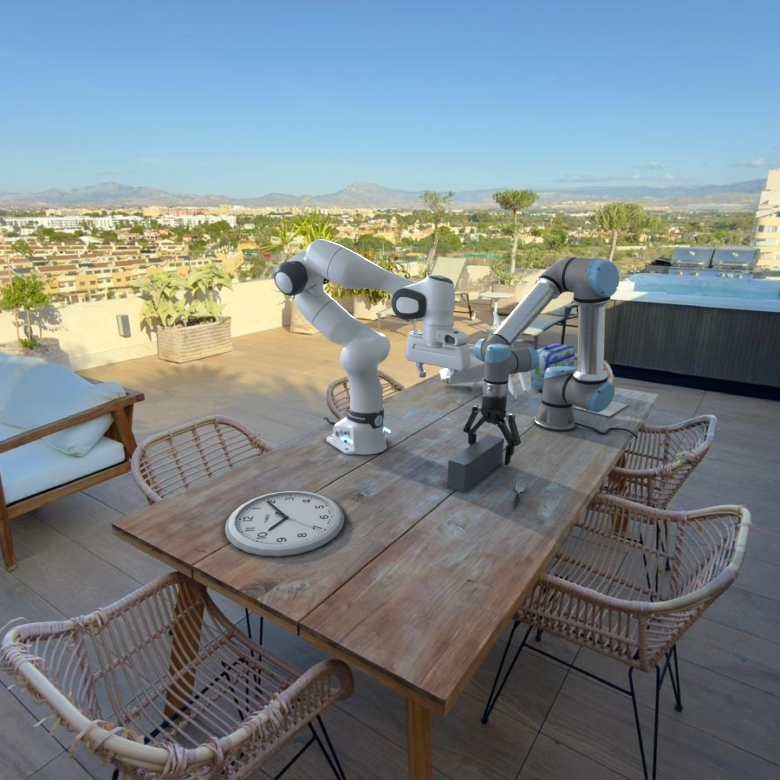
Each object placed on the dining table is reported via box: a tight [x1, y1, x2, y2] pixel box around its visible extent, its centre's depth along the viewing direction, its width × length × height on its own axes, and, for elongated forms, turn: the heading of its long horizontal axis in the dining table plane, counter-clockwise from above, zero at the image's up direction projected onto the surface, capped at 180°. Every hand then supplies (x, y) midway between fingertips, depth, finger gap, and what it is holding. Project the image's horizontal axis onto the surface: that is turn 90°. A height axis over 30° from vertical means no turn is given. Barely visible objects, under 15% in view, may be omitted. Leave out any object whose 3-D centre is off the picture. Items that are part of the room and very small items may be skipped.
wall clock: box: [224, 490, 345, 557], centre depth 134 cm, size 30×2×30 cm
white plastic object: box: [438, 310, 531, 400], centre depth 245 cm, size 37×45×31 cm
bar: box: [446, 433, 505, 493], centre depth 161 cm, size 26×6×9 cm, turn 143°
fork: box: [513, 478, 526, 510], centre depth 148 cm, size 3×16×2 cm, turn 160°
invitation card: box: [573, 400, 629, 418], centre depth 226 cm, size 21×1×15 cm
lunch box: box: [530, 343, 576, 391], centre depth 249 cm, size 26×11×21 cm, turn 134°
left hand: (435, 380), depth 154 cm, fingers open, 8 cm apart
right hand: (489, 458), depth 169 cm, fingers open, 12 cm apart
